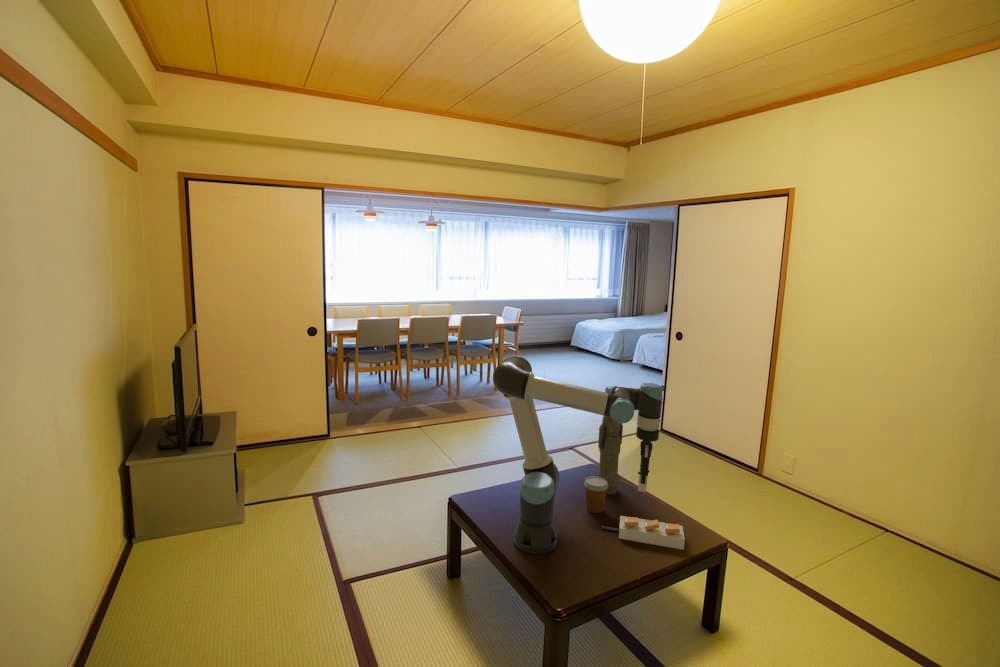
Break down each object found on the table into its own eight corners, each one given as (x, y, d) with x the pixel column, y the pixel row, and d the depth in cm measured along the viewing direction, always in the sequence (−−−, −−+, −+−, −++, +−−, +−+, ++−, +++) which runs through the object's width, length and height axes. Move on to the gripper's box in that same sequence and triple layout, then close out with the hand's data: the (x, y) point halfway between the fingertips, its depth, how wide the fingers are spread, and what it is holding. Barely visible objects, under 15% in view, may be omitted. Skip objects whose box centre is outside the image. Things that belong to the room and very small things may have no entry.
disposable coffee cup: (605, 504, 194) (607, 476, 192) (608, 516, 185) (610, 487, 183) (581, 502, 195) (583, 475, 193) (583, 514, 186) (585, 485, 184)
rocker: (665, 533, 166) (665, 529, 166) (665, 527, 169) (664, 524, 169) (680, 532, 165) (679, 528, 165) (679, 527, 168) (678, 523, 168)
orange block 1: (624, 526, 170) (624, 522, 170) (624, 521, 173) (624, 517, 173) (638, 525, 169) (637, 521, 168) (638, 520, 172) (637, 517, 172)
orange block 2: (645, 530, 168) (644, 526, 168) (645, 525, 171) (644, 521, 171) (659, 528, 167) (657, 524, 167) (658, 523, 170) (657, 519, 170)
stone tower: (624, 490, 206) (629, 413, 201) (605, 497, 200) (610, 418, 195) (608, 482, 214) (613, 408, 208) (590, 489, 207) (594, 412, 202)
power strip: (600, 535, 172) (601, 523, 171) (602, 522, 180) (602, 511, 180) (683, 549, 164) (684, 537, 163) (681, 535, 173) (682, 524, 172)
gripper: (660, 435, 158) (653, 501, 162) (658, 423, 170) (652, 484, 174) (636, 432, 160) (630, 497, 164) (637, 420, 172) (631, 480, 176)
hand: (642, 490), depth 169 cm, fingers closed
